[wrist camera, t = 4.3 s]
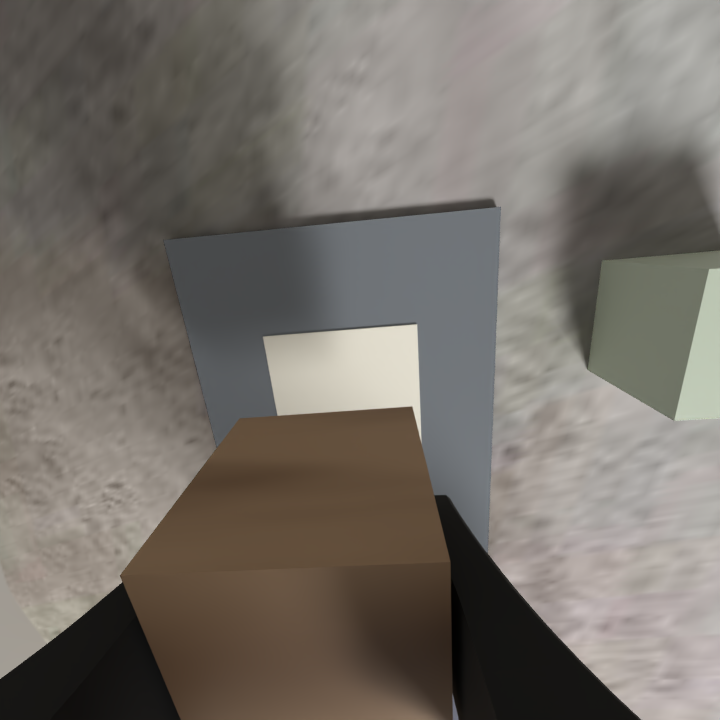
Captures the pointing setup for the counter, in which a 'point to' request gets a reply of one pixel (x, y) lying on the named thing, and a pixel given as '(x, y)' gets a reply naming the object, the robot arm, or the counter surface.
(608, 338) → the sage block
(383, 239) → the mat
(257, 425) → the walnut block
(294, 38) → the counter surface
